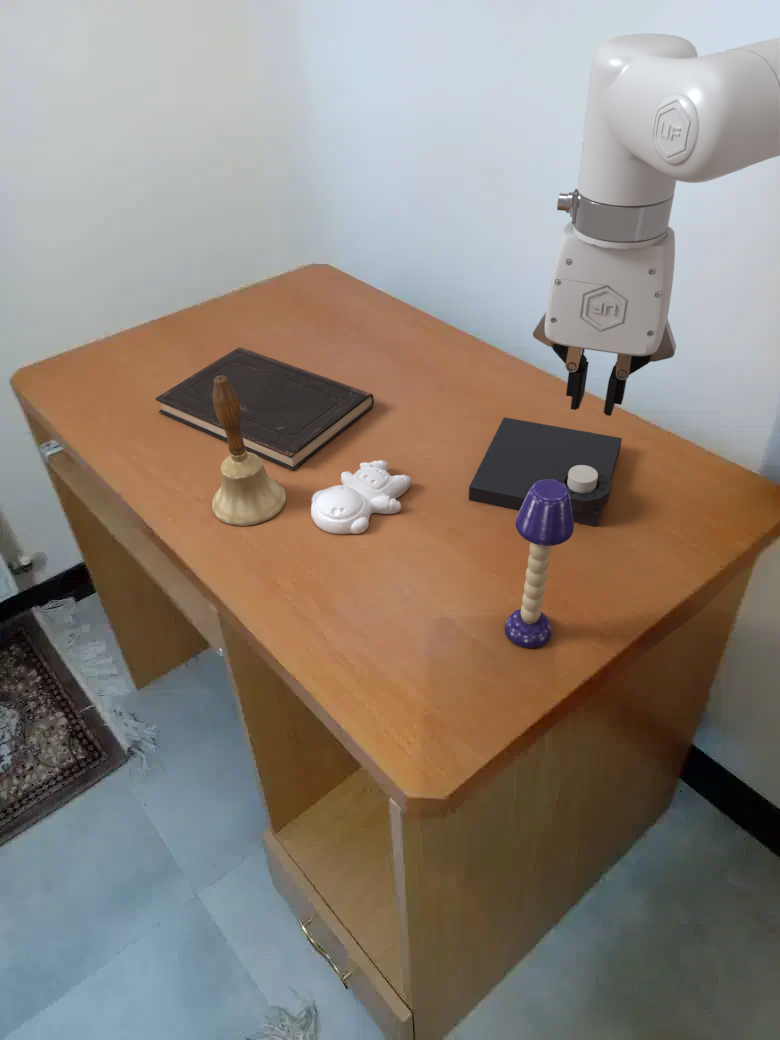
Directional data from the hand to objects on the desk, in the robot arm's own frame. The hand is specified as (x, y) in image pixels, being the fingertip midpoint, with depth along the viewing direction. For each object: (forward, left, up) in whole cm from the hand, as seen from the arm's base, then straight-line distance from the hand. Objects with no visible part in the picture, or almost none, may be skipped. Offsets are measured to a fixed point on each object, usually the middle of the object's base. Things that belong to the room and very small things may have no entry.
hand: (593, 403), depth 76 cm
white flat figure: (+23, +6, -13) cm, 27 cm away
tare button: (0, 0, -10) cm, 10 cm away
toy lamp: (+1, +18, -13) cm, 23 cm away
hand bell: (+35, +10, -13) cm, 38 cm away
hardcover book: (+42, -6, -13) cm, 44 cm away
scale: (+5, -4, -13) cm, 15 cm away
